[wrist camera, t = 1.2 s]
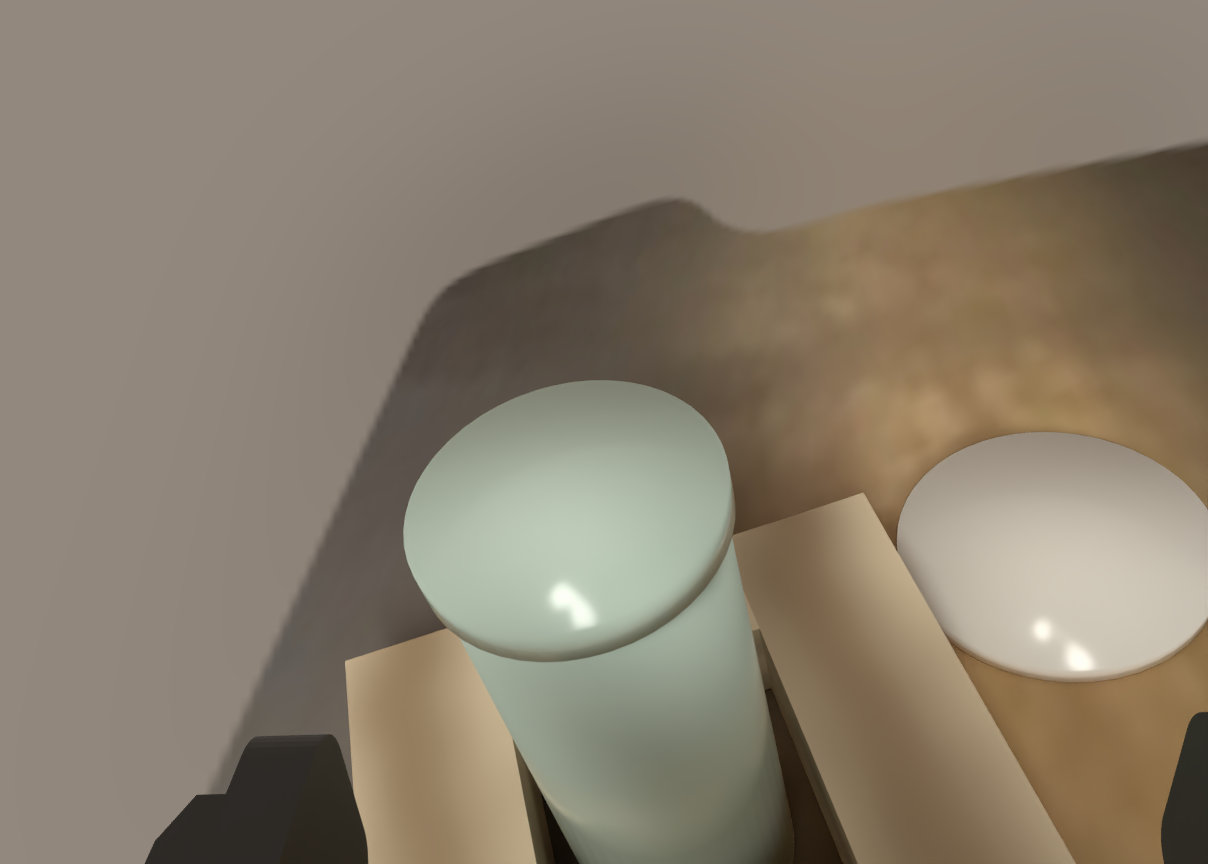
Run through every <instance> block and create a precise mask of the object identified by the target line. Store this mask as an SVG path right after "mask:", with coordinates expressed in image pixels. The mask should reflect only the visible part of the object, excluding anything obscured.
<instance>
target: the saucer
mask: <svg viewBox="0 0 1208 864" xmlns="http://www.w3.org/2000/svg"><path fill="white" fill-rule="evenodd" d="M897 552H898V554H899V556H900V557H901V559H902V561H903V563H904V564H905V566H906V568H907V570H908V571H909V573H910V575H911V577H912V578H913V580H914V582H915V583H916V585H917V587H918V589H919V590H920V592H921V594H922V596H923V597H924V599H925V601H926V603H927V604H928V606H929V608H930V610H931V611H932V613H933V615H934V617H935V618H936V620H937V622H938V624H939V625H940V627H941V629H942V631H943V632H944V634H945V636H946V638H947V639H948V641H949V642H950V643H951V644H953V645H954V646H956V647H957V648H959V649H960V650H961V651H963V652H964V653H966V654H968V655H970V656H972V657H974V658H976V659H978V660H979V661H981V662H983V663H986V664H988V665H991V666H993V667H996V668H998V669H1001V670H1003V671H1006V672H1010V673H1013V674H1017V675H1020V676H1024V677H1028V678H1034V679H1039V680H1045V681H1054V682H1068V683H1079V682H1098V681H1105V680H1112V679H1118V678H1122V677H1125V676H1129V675H1133V674H1137V673H1140V672H1142V671H1144V670H1147V669H1149V668H1152V667H1154V666H1157V665H1159V664H1160V663H1162V662H1164V661H1166V660H1168V659H1169V658H1171V657H1173V656H1175V655H1176V654H1177V653H1178V652H1180V651H1181V650H1182V649H1183V648H1185V647H1186V646H1187V645H1189V644H1190V643H1191V642H1192V641H1193V639H1194V638H1195V637H1196V636H1197V635H1198V634H1199V633H1200V632H1201V631H1202V629H1203V628H1204V626H1205V625H1206V623H1207V621H1208V510H1207V508H1206V507H1205V505H1204V504H1203V503H1202V501H1201V500H1200V499H1199V498H1198V496H1197V495H1196V494H1195V493H1194V492H1193V491H1192V490H1191V489H1190V488H1189V487H1188V486H1187V485H1186V484H1185V483H1184V482H1183V481H1182V480H1181V479H1180V478H1178V477H1177V476H1176V475H1174V474H1173V473H1172V472H1171V471H1169V470H1168V469H1167V468H1165V467H1163V466H1162V465H1160V464H1159V463H1157V462H1155V461H1154V460H1152V459H1150V458H1148V457H1146V456H1144V455H1142V454H1140V453H1138V452H1136V451H1134V450H1132V449H1129V448H1126V447H1124V446H1121V445H1118V444H1116V443H1112V442H1109V441H1105V440H1102V439H1098V438H1094V437H1089V436H1083V435H1078V434H1069V433H1059V432H1031V433H1018V434H1012V435H1006V436H1000V437H996V438H993V439H989V440H985V441H982V442H979V443H976V444H974V445H971V446H969V447H966V448H964V449H962V450H960V451H958V452H956V453H954V454H952V455H950V456H949V457H947V458H946V459H944V460H943V461H941V462H940V463H938V464H937V465H936V466H934V467H933V468H932V469H931V470H930V471H929V472H928V473H926V474H925V475H924V476H923V478H922V479H921V480H920V481H919V482H918V483H917V485H916V486H915V487H914V489H913V490H912V492H911V493H910V495H909V497H908V498H907V500H906V502H905V505H904V507H903V509H902V512H901V515H900V519H899V524H898V531H897Z"/></svg>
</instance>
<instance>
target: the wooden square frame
mask: <svg viewBox="0 0 1208 864" xmlns="http://www.w3.org/2000/svg"><path fill="white" fill-rule="evenodd" d="M732 539H733V543H734V548H735V553H736V558H737V562H738V567H739V572H740V577H741V581H742V586H743V591H744V596H745V600H746V605H747V610H748V615H749V619H750V624H751V629H752V634H753V638H754V643H755V648H756V653H757V657H758V662H759V667H760V671H761V676H762V681H763V686H764V690H766V689H770V688H772V691H773V693H774V696H775V698H776V700H777V703H778V705H779V708H780V710H781V713H782V715H783V718H784V720H785V722H786V725H787V727H788V730H789V732H790V735H791V737H792V740H793V742H794V744H795V747H796V749H797V752H798V754H799V757H800V759H801V762H802V764H803V767H804V769H805V771H806V774H807V776H808V779H809V781H810V784H811V786H812V789H813V791H814V793H815V796H816V798H817V801H818V803H819V806H820V808H821V811H822V813H823V815H824V818H825V820H826V823H827V825H828V828H829V830H830V833H831V835H832V837H833V840H834V842H835V845H836V847H837V850H838V852H839V855H840V857H841V859H842V862H843V864H1076V863H1075V861H1074V859H1073V857H1072V856H1071V854H1070V852H1069V850H1068V849H1067V847H1066V845H1065V843H1064V842H1063V840H1062V838H1061V836H1060V835H1059V833H1058V831H1057V830H1056V828H1055V826H1054V824H1053V823H1052V821H1051V819H1050V817H1049V816H1048V814H1047V812H1046V810H1045V809H1044V807H1043V805H1042V803H1041V802H1040V800H1039V798H1038V796H1037V795H1036V793H1035V791H1034V789H1033V788H1032V786H1031V784H1030V782H1029V781H1028V779H1027V777H1026V775H1025V774H1024V772H1023V770H1022V768H1021V767H1020V765H1019V763H1018V761H1017V760H1016V758H1015V756H1014V754H1013V753H1012V751H1011V749H1010V747H1009V746H1008V744H1007V742H1006V741H1005V739H1004V737H1003V735H1002V734H1001V732H1000V730H999V728H998V727H997V725H996V723H995V721H994V720H993V718H992V716H991V714H990V713H989V711H988V709H987V707H986V706H985V704H984V702H983V700H982V699H981V697H980V695H979V693H978V692H977V690H976V688H975V686H974V685H973V683H972V681H971V679H970V678H969V676H968V674H967V672H966V671H965V669H964V667H963V665H962V664H961V662H960V660H959V659H958V657H957V655H956V653H955V652H954V650H953V648H952V646H951V645H950V643H949V641H948V639H947V638H946V636H945V634H944V632H943V631H942V629H941V627H940V625H939V624H938V622H937V620H936V618H935V617H934V615H933V613H932V611H931V610H930V608H929V606H928V604H927V603H926V601H925V599H924V597H923V596H922V594H921V592H920V590H919V589H918V587H917V585H916V583H915V582H914V580H913V578H912V577H911V575H910V573H909V571H908V570H907V568H906V566H905V564H904V563H903V561H902V559H901V557H900V556H899V554H898V552H897V550H896V549H895V547H894V545H893V543H892V542H891V540H890V538H889V536H888V535H887V533H886V531H885V529H884V528H883V526H882V524H881V522H880V521H879V519H878V517H877V515H876V514H875V512H874V510H873V508H872V507H871V505H870V503H869V501H868V500H867V498H866V496H865V495H864V493H861V494H858V495H855V496H852V497H848V498H845V499H842V500H839V501H836V502H833V503H830V504H827V505H824V506H821V507H818V508H815V509H812V510H809V511H805V512H802V513H799V514H796V515H793V516H790V517H787V518H784V519H781V520H778V521H775V522H772V523H769V524H765V525H762V526H759V527H756V528H753V529H750V530H747V531H744V532H741V533H738V534H735V535H733V536H732ZM345 667H346V682H347V697H348V712H349V727H350V742H351V757H352V773H353V788H354V796H355V800H356V803H357V807H358V810H359V813H360V817H361V820H362V823H363V827H364V830H365V834H366V839H367V846H368V864H555V859H554V854H553V849H552V844H551V840H550V835H549V830H548V825H547V820H546V815H545V810H544V805H543V801H542V796H541V791H540V789H539V787H538V785H537V783H536V781H535V779H534V778H533V776H532V774H531V772H530V770H529V768H528V766H527V764H526V763H525V761H524V759H523V757H522V755H521V753H520V751H519V749H518V747H517V746H516V744H515V742H514V740H513V738H512V736H511V734H510V732H509V730H508V729H507V727H506V725H505V723H504V721H503V719H502V717H501V715H500V713H499V712H498V710H497V708H496V706H495V704H494V702H493V700H492V698H491V696H490V695H489V693H488V691H487V689H486V687H485V685H484V683H483V681H482V679H481V678H480V676H479V674H478V672H477V670H476V668H475V666H474V664H473V662H472V661H471V659H470V657H469V655H468V653H467V651H466V649H465V647H464V646H463V644H462V642H461V640H460V638H459V637H458V636H457V635H455V634H454V633H453V632H451V631H450V630H449V629H448V628H446V629H443V630H440V631H437V632H433V633H430V634H427V635H424V636H421V637H418V638H415V639H412V640H409V641H406V642H403V643H400V644H397V645H393V646H390V647H387V648H384V649H381V650H378V651H375V652H372V653H369V654H366V655H363V656H360V657H357V658H354V659H350V660H347V661H345Z"/></svg>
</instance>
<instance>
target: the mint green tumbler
mask: <svg viewBox="0 0 1208 864" xmlns="http://www.w3.org/2000/svg"><path fill="white" fill-rule="evenodd" d="M735 508H736V503H735V497H734V491H733V485H732V480H731V475H730V470H729V465H728V460H727V457H726V454H725V451H724V448H723V445H722V443H721V441H720V439H719V437H718V436H717V434H716V432H715V430H714V429H713V428H712V427H711V425H710V424H709V423H708V422H707V421H706V419H705V418H704V417H703V416H702V415H701V414H699V413H698V412H697V411H696V410H695V409H694V408H693V407H691V406H690V405H688V404H687V403H685V402H683V401H682V400H680V399H679V398H677V397H675V396H673V395H670V394H668V393H666V392H664V391H661V390H658V389H655V388H652V387H649V386H646V385H641V384H636V383H631V382H623V381H612V380H590V381H579V382H570V383H565V384H560V385H554V386H550V387H547V388H543V389H539V390H536V391H532V392H530V393H527V394H524V395H522V396H519V397H516V398H514V399H512V400H510V401H508V402H505V403H503V404H501V405H499V406H497V407H495V408H494V409H492V410H490V411H488V412H487V413H485V414H483V415H481V416H480V417H478V418H477V419H476V420H474V421H473V422H471V423H470V424H468V425H467V426H466V427H464V428H463V429H462V430H461V431H460V432H458V433H457V434H456V435H455V436H454V437H453V438H451V439H450V440H449V441H448V442H447V443H446V444H445V445H444V447H443V448H442V449H441V450H440V451H439V452H438V453H437V454H436V455H435V457H434V458H433V459H432V460H431V462H430V463H429V464H428V466H427V467H426V468H425V470H424V472H423V473H422V475H421V477H420V478H419V480H418V482H417V484H416V486H415V488H414V490H413V493H412V495H411V497H410V500H409V504H408V507H407V511H406V514H405V522H404V530H403V532H404V548H405V553H406V557H407V562H408V564H409V567H410V569H411V571H412V574H413V576H414V578H415V580H416V582H417V584H418V585H419V587H420V589H421V591H422V593H423V595H424V596H425V598H426V600H427V602H428V604H429V605H430V607H431V608H432V610H433V611H434V613H435V614H436V616H437V617H438V619H439V620H440V621H441V622H442V623H443V624H444V625H445V626H446V627H447V628H448V629H449V630H450V631H451V632H453V633H454V634H455V635H457V636H458V637H459V638H460V640H461V642H462V644H463V646H464V647H465V649H466V651H467V653H468V655H469V657H470V659H471V661H472V662H473V664H474V666H475V668H476V670H477V672H478V674H479V676H480V678H481V679H482V681H483V683H484V685H485V687H486V689H487V691H488V693H489V695H490V696H491V698H492V700H493V702H494V704H495V706H496V708H497V710H498V712H499V713H500V715H501V717H502V719H503V721H504V723H505V725H506V727H507V729H508V730H509V732H510V734H511V736H512V738H513V740H514V742H515V744H516V746H517V747H518V749H519V751H520V753H521V755H522V757H523V759H524V761H525V763H526V764H527V766H528V768H529V770H530V772H531V774H532V776H533V778H534V779H535V781H536V783H537V785H538V787H539V789H540V791H541V793H542V795H543V796H544V798H545V800H546V802H547V804H548V806H549V808H550V810H551V812H552V813H553V815H554V817H555V819H556V821H557V823H558V825H559V827H560V829H561V830H562V832H563V834H564V836H565V838H566V840H567V842H568V844H569V846H570V847H571V849H572V851H573V853H574V855H575V857H576V859H577V861H578V863H579V864H792V863H793V856H794V830H793V824H792V818H791V814H790V809H789V804H788V799H787V795H786V790H785V785H784V781H783V776H782V771H781V766H780V762H779V757H778V752H777V747H776V743H775V738H774V733H773V728H772V724H771V719H770V714H769V709H768V705H767V700H766V695H765V690H764V686H763V681H762V676H761V671H760V667H759V662H758V657H757V653H756V648H755V643H754V638H753V634H752V629H751V624H750V619H749V615H748V610H747V605H746V600H745V596H744V591H743V586H742V581H741V577H740V572H739V567H738V562H737V558H736V553H735V548H734V543H733V539H732V536H733V530H734V525H735Z"/></svg>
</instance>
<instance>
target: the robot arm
mask: <svg viewBox="0 0 1208 864" xmlns="http://www.w3.org/2000/svg"><path fill="white" fill-rule="evenodd" d="M1161 843H1162V853H1163V859H1164V864H1208V712H1200V713H1197V714H1195V715H1194V716H1193V717H1192V719H1191V721H1190V723H1189V725H1188V728H1187V732H1186V735H1185V739H1184V743H1183V746H1182V750H1181V754H1180V757H1179V761H1178V764H1177V768H1176V772H1175V775H1174V779H1173V783H1172V786H1171V790H1170V794H1169V797H1168V801H1167V804H1166V808H1165V812H1164V815H1163V820H1162V827H1161ZM145 864H368V846H367V839H366V834H365V830H364V827H363V823H362V820H361V817H360V813H359V810H358V807H357V803H356V800H355V796H354V793H353V790H352V786H351V783H350V780H349V776H348V773H347V770H346V766H345V763H344V760H343V756H342V753H341V750H340V747H339V744H338V742H337V740H336V738H335V737H334V736H333V735H330V734H325V735H290V736H259V737H255V738H253V739H252V740H251V741H250V742H249V743H248V744H247V746H246V747H245V749H244V751H243V754H242V756H241V758H240V761H239V763H238V766H237V768H236V771H235V773H234V775H233V778H232V780H231V783H230V785H229V788H228V790H227V793H226V794H212V795H196V796H195V797H194V799H193V800H192V801H191V802H190V803H189V804H188V805H187V806H186V807H185V808H184V810H183V811H182V812H181V813H180V814H179V815H178V816H177V817H176V818H175V820H174V821H173V822H172V823H171V824H170V825H169V826H168V827H167V828H166V829H165V831H164V832H163V833H162V834H161V835H160V836H159V837H158V838H157V839H156V841H155V842H154V844H153V847H152V849H151V851H150V853H149V855H148V858H147V860H146V862H145Z"/></svg>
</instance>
